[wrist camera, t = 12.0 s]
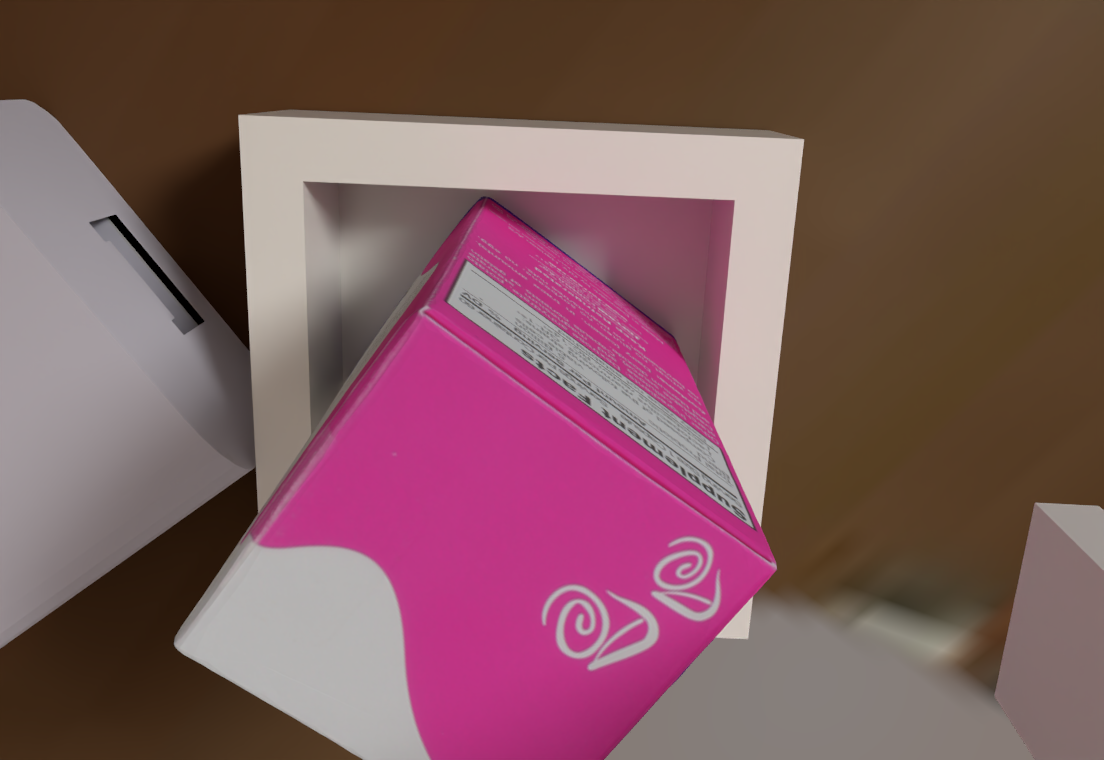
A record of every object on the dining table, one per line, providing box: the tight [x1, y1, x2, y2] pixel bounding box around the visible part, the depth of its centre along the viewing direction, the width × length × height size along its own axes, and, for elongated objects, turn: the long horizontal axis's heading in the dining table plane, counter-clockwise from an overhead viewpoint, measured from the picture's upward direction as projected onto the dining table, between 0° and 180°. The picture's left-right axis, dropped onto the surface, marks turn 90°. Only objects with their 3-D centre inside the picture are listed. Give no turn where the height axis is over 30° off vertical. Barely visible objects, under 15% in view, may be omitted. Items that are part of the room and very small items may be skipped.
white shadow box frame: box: [238, 110, 804, 639], centre depth 22 cm, size 11×11×4 cm
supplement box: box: [174, 196, 777, 760], centre depth 18 cm, size 6×6×12 cm
